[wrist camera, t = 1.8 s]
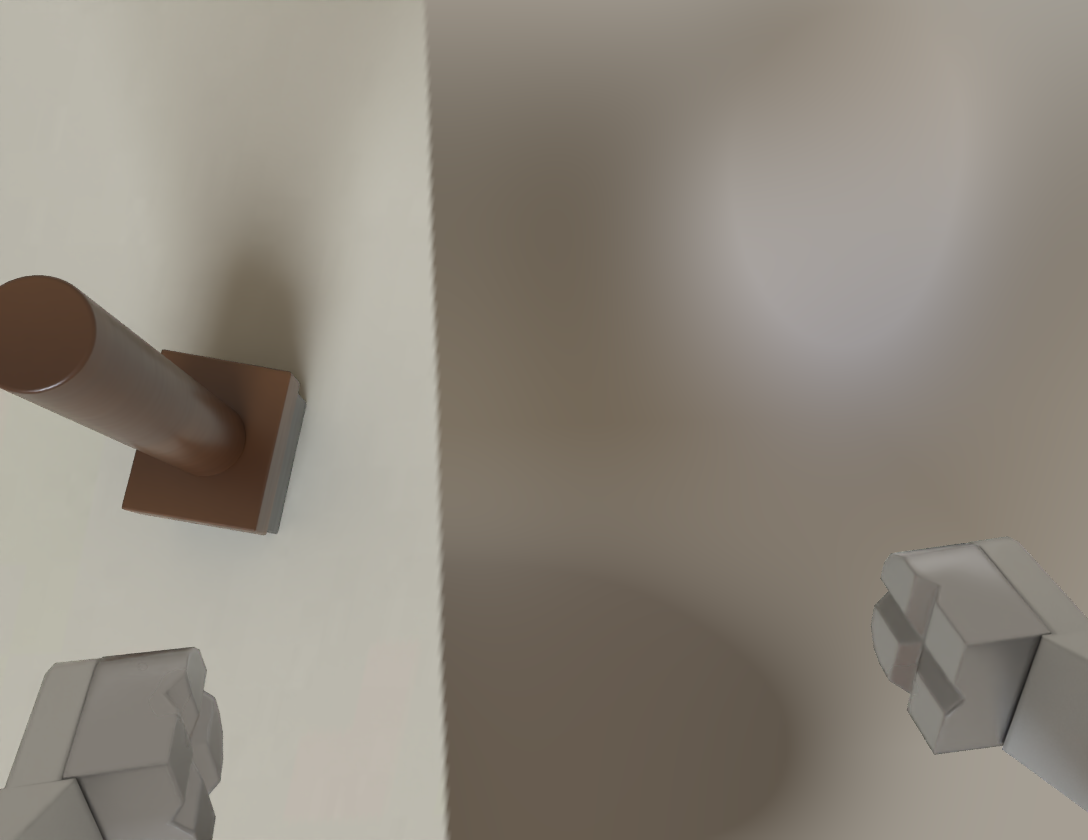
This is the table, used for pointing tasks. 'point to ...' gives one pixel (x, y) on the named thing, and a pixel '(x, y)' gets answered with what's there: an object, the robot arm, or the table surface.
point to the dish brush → (156, 407)
